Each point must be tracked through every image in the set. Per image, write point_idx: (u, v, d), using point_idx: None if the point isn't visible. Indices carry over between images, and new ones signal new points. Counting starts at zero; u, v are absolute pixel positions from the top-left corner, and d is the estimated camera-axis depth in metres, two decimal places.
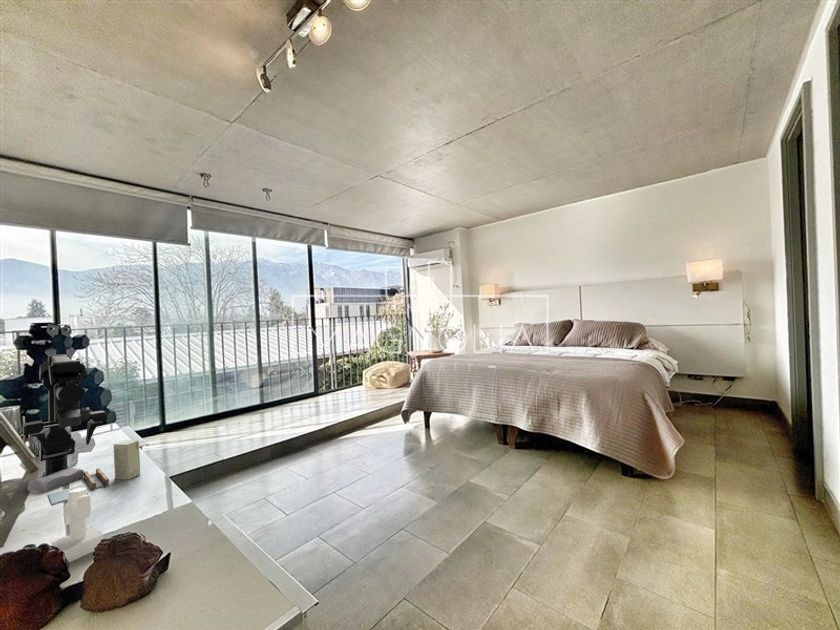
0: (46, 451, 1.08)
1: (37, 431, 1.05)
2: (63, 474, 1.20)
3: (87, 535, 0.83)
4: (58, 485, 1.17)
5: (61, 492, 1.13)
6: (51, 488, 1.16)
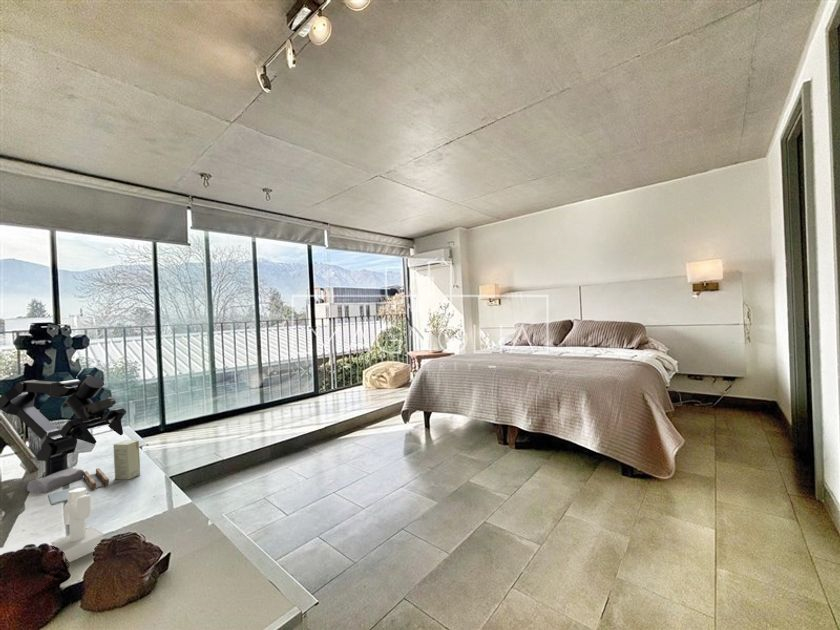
0: (94, 440, 1.21)
1: (80, 422, 1.20)
2: (63, 474, 1.20)
3: (87, 535, 0.83)
4: (58, 485, 1.17)
5: (61, 492, 1.13)
6: (51, 488, 1.15)
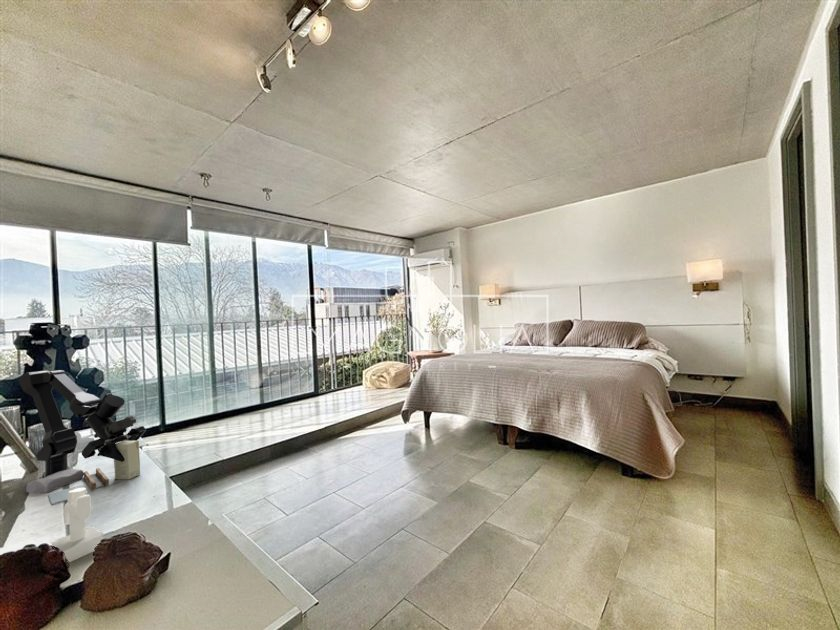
0: (123, 458, 1.22)
1: (102, 442, 1.18)
2: (63, 475, 1.19)
3: (87, 535, 0.83)
4: (58, 486, 1.17)
5: (61, 492, 1.13)
6: (52, 489, 1.15)
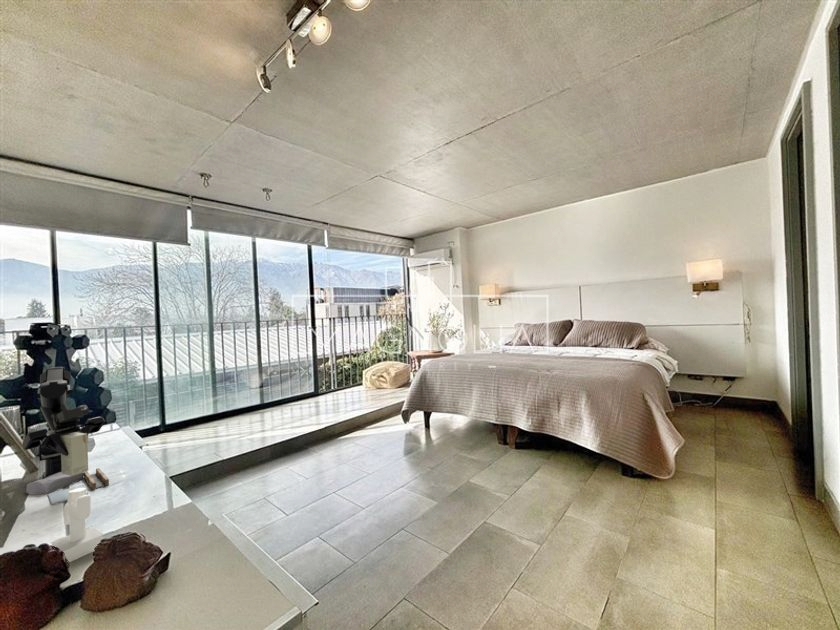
0: (66, 452, 1.10)
1: (42, 433, 1.08)
2: (63, 475, 1.19)
3: (87, 535, 0.83)
4: (59, 486, 1.16)
5: (61, 492, 1.13)
6: (53, 489, 1.15)
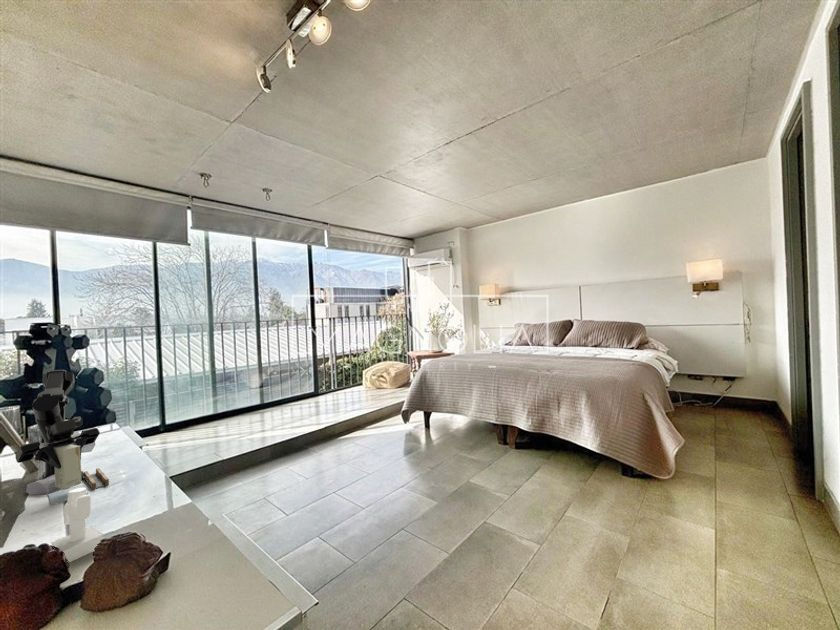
0: (59, 465, 1.09)
1: (35, 446, 1.07)
2: None
3: (87, 535, 0.83)
4: None
5: (61, 492, 1.13)
6: (53, 490, 1.14)
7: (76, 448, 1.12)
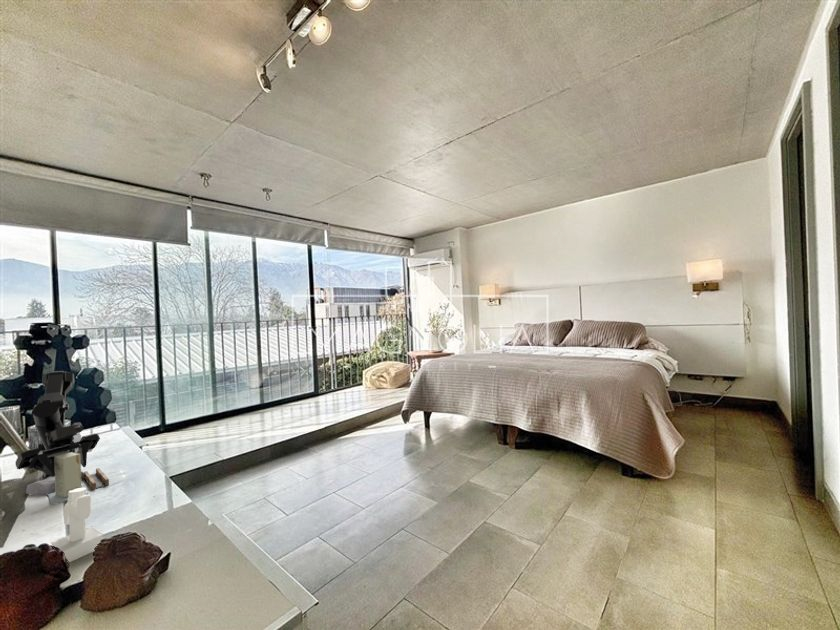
0: (53, 473, 1.08)
1: (35, 452, 1.07)
2: None
3: (87, 535, 0.83)
4: None
5: None
6: (53, 490, 1.14)
7: (76, 456, 1.12)
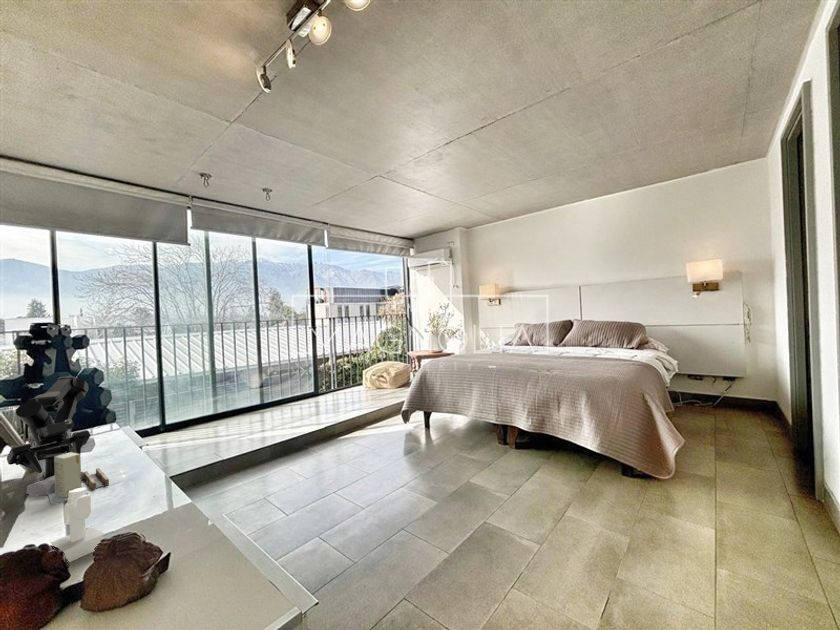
0: (40, 469, 1.09)
1: (26, 448, 1.09)
2: None
3: (87, 535, 0.83)
4: None
5: None
6: (54, 491, 1.14)
7: (76, 456, 1.12)
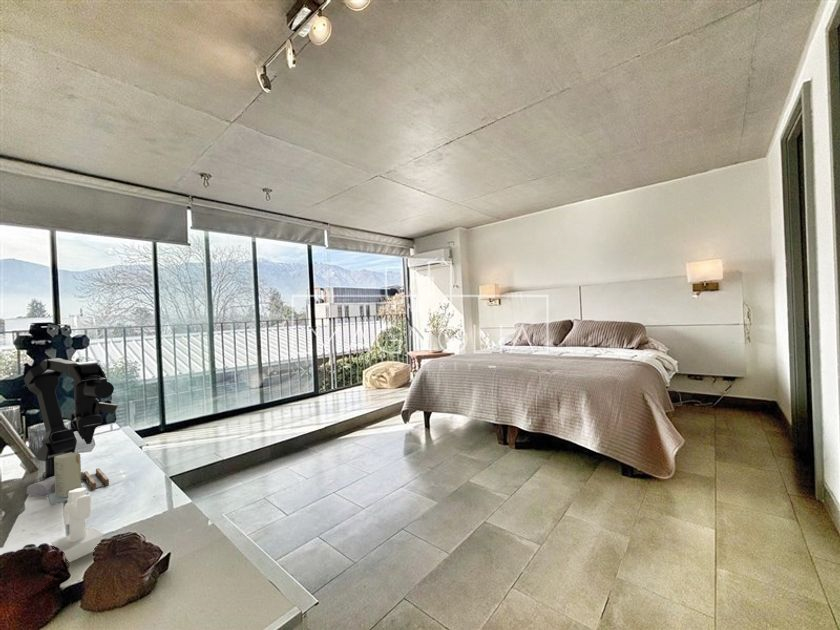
0: None
1: None
2: None
3: (87, 535, 0.83)
4: None
5: None
6: (54, 491, 1.13)
7: (76, 456, 1.12)
